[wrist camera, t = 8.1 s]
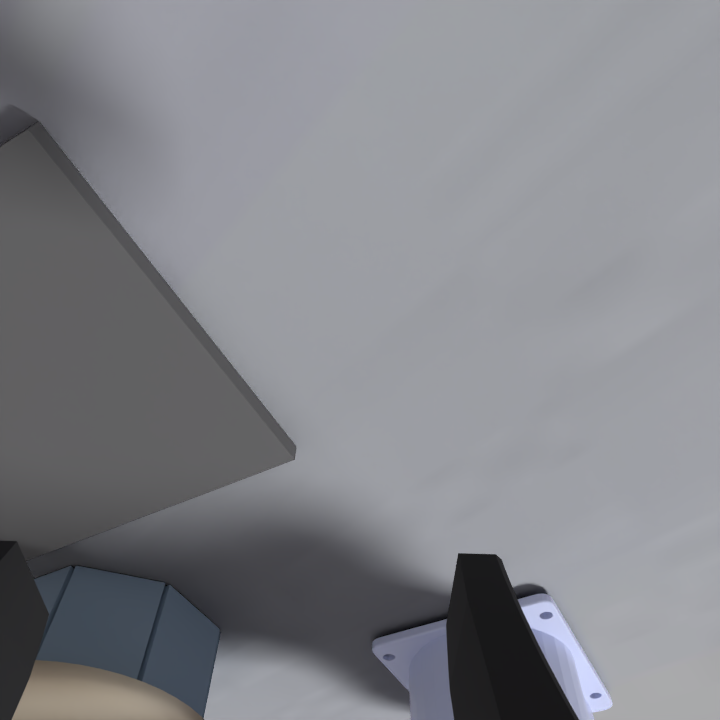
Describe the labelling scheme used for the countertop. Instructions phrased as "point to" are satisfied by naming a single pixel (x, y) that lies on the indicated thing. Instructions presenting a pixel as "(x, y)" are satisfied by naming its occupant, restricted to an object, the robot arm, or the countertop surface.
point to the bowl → (129, 631)
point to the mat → (103, 369)
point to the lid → (94, 696)
